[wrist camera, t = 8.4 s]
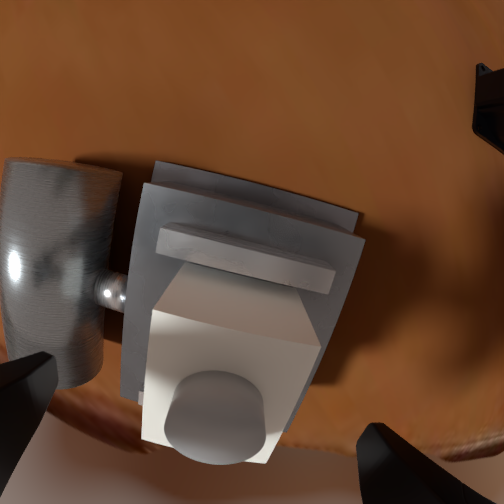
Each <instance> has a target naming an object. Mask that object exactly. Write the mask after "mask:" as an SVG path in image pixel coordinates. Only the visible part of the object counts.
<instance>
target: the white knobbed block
mask: <svg viewBox="0 0 504 504" xmlns="http://www.w3.org/2000/svg"><path fill="white" fill-rule="evenodd" d="M320 349H321V345H320V343H319V340H318V338H317V336H316V333H315V331H314V329H313V326H312V324H311V322H310V319H309V317H308V315H307V312H306V310H305V308H304V306H303V303H302V301H301V299H300V297H299V294H298V292H297V290H296V288H292V287H288V286H284V285H279V284H275V283H271V282H267V281H262V280H258V279H254V278H250V277H245V276H241V275H237V274H233V273H229V272H225V271H221V270H217V269H212V268H208V267H204V266H200V265H196V264H192V263H188V262H185V263H184V264H183V266H182V267H181V268H180V270H179V271H178V273H177V274H176V276H175V277H174V279H173V280H172V281H171V283H170V284H169V286H168V287H167V289H166V290H165V292H164V293H163V295H162V296H161V298H160V299H159V301H158V302H157V303H156V305H155V306H154V308H153V310H152V318H151V326H150V334H149V342H148V352H147V362H146V372H145V384H144V398H143V415H142V439H143V440H147V441H150V442H154V443H157V444H161V445H165V446H169V447H173V448H175V449H176V450H177V451H179V452H180V453H181V454H183V455H185V456H187V457H189V458H191V459H194V460H196V461H199V462H203V463H208V464H218V465H222V464H223V465H225V464H234V463H238V462H242V461H248V462H256V463H266V462H267V460H268V458H269V457H270V455H271V453H272V451H273V449H274V447H275V445H276V443H277V441H278V440H279V438H280V436H281V434H282V432H283V430H284V428H285V426H286V424H287V422H288V420H289V418H290V416H291V414H292V411H293V409H294V407H295V405H296V403H297V401H298V399H299V397H300V395H301V392H302V390H303V388H304V386H305V384H306V381H307V379H308V377H309V375H310V372H311V370H312V368H313V365H314V363H315V361H316V358H317V356H318V354H319V351H320Z"/></svg>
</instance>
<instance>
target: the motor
mask: <svg viewBox="0 0 504 504" xmlns="http://www.w3.org/2000/svg"><path fill="white" fill-rule="evenodd" d="M122 177H123V173H122V172H120V171H117V170H113V169H109V168H104V167H100V166H94V165H89V164H83V163H76V162H69V161H62V160H53V159H42V158H25V157H13V158H6V159H5V162H4V168H3V175H2V183H1V192H0V305H1V314H2V322H3V329H4V336H5V342H6V347H7V353H8V358H9V361H12V360H15V359H19V358H22V357H25V356H28V355H31V354H35V353H38V352H41V351H45V352H47V353H49V354H52V355H54V356H55V358H56V361H57V369H58V376H59V382H58V385H57V388H56V389H69V388H73V387H77V386H80V385H83V384H85V383H87V382H88V381H90V380H91V379H93V378H94V377H95V376H96V375H97V374H98V373H99V371H100V369H101V368H102V365H103V343H104V315H105V307H106V308H109V309H112V310H116V311H119V312H122V313H124V322H123V335H122V353H121V382H120V396H121V397H124V398H127V399H130V400H133V401H136V402H138V404H139V405H142V406H143V398H144V384H145V372H146V362H147V352H148V342H149V334H150V326H151V318H152V310H153V308H154V306H155V305H156V303H157V302H158V301H159V299H160V298H161V296H162V295H163V293H164V292H165V290H166V289H167V287H168V286H169V284H170V283H171V281H172V280H173V279H174V277H175V276H176V274H177V273H178V271H179V270H180V268H181V267H182V266H183V264H184V263H185V262H188V263H192V264H196V265H200V266H204V267H208V268H212V269H217V270H221V271H225V272H229V273H233V274H237V275H241V276H245V277H250V278H254V279H258V280H262V281H267V282H271V283H275V284H279V285H284V286H288V287H292V288H296V290H297V292H298V294H299V297H300V299H301V301H302V303H303V306H304V308H305V310H306V312H307V315H308V317H309V319H310V322H311V324H312V326H313V329H314V331H315V333H316V336H317V338H318V340H319V343H320V345H321V349H320V351H319V354H318V356H317V358H316V361H315V363H314V365H313V368H312V370H311V372H310V375H309V377H308V379H307V381H306V384H305V386H304V388H303V390H302V392H301V395H300V397H299V399H298V401H297V403H296V405H295V407H294V409H293V411H292V414H291V416H290V418H289V420H288V422H287V424H286V426H285V428H284V430H283V432H287V431H288V429H289V427H290V425H291V423H292V421H293V419H294V417H295V415H296V413H297V411H298V409H299V407H300V405H301V403H302V401H303V398H304V396H305V394H306V392H307V390H308V388H309V386H310V384H311V381H312V379H313V377H314V375H315V373H316V370H317V368H318V366H319V363H320V361H321V359H322V357H323V354H324V352H325V350H326V347H327V345H328V342H329V340H330V338H331V335H332V333H333V330H334V328H335V325H336V323H337V320H338V317H339V315H340V312H341V310H342V307H343V304H344V302H345V299H346V296H347V294H348V291H349V288H350V285H351V282H352V280H353V277H354V274H355V271H356V268H357V265H358V262H359V259H360V256H361V253H362V250H363V247H364V244H365V239H364V238H362V237H360V236H358V235H356V234H354V233H353V231H354V228H355V224H356V221H357V218H358V214H359V213H356V212H353V211H350V210H347V209H344V208H341V207H337V206H334V205H331V204H327V203H324V202H321V201H317V200H314V199H311V198H307V197H304V196H300V195H297V194H293V193H290V192H286V191H282V190H279V189H275V188H271V187H268V186H264V185H260V184H256V183H252V182H248V181H244V180H240V179H236V178H232V177H228V176H224V175H220V174H216V173H211V172H207V171H203V170H198V169H194V168H189V167H185V166H180V165H175V164H171V163H166V162H161V161H156V162H155V166H154V170H153V175H152V179H151V182H147V183H144V185H143V190H142V195H141V200H140V205H139V210H138V215H137V221H136V227H135V232H134V239H133V245H132V252H131V258H130V266H129V273H128V275H125V274H122V273H119V272H115V271H112V270H108V265H109V256H110V248H111V241H112V233H113V227H114V220H115V214H116V208H117V203H118V197H119V192H120V187H121V182H122Z"/></svg>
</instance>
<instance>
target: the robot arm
mask: <svg viewBox="0 0 504 504" xmlns="http://www.w3.org/2000/svg"><path fill="white" fill-rule="evenodd" d="M481 68H482V69H481ZM478 127H479V129H478ZM472 128H473V131H474V132H475V133H476V134H477V135H478V136H480V137H481V138H483V139H484V140H486V141H487V142H488V143H490V144H491V145H492V146H494V147H495V148H497V149H498V150H499V151H501V152H502V153H503V154H504V68H503V69H500V70H496V71H492V70H491V69H489V68H488V67H487V66H485V65H484V64H483V63H479V64H477V65H476V86H475V102H474V113H473V123H472ZM58 382H59V376H58V369H57V361H56V358H55V356H54V355H52V354H49V353H47V352H45V351H41V352H38V353H35V354H31V355H28V356H25V357H22V358H19V359H15V360H12V361H9V362H6V363H2V364H0V497H1V495H2V493H3V491H4V488H5V487H6V484H7V483H8V480H9V479H10V477H11V475H12V473H13V471H14V469H15V467H16V465H17V463H18V461H19V460H20V458H21V456H22V454H23V452H24V451H25V449H26V447H27V445H28V444H29V442H30V440H31V438H32V437H33V435H34V433H35V431H36V430H37V428H38V426H39V424H40V422H41V420H42V418H43V416H44V413H45V411H46V409H47V407H48V405H49V402H50V400H51V398H52V396H53V394H54V392H55V390H56V388H57V385H58ZM356 451H357V460H358V472H359V484H360V491H361V496H362V502H363V504H496V503H494V502H492V501H491V500H489V499H487V498H485V497H483V496H482V495H480V494H479V493H477V492H476V491H474V490H473V489H471V488H470V487H468V486H467V485H465V484H464V483H462V482H461V481H460V480H458V479H457V478H455V477H454V476H453V475H451V474H450V473H448V472H447V471H446V470H444V469H443V468H442V467H440V466H439V465H437V464H436V463H435V462H433V461H432V460H431V459H429V458H428V457H427V456H425V455H424V454H423V453H421V452H420V451H419V450H417V449H416V448H415V447H413V446H412V445H411V444H410V443H408V442H407V441H406V440H404V439H403V438H402V437H400V436H399V435H398V434H397V433H395V432H394V431H393V430H391V429H390V428H389V427H388V426H386V425H385V424H384V423H370V424H369V425H368V426H367V427H366V429H365V430H364V432H363V433H362V435H361V436H360V438H359V439H358V441H357V444H356Z"/></svg>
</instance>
